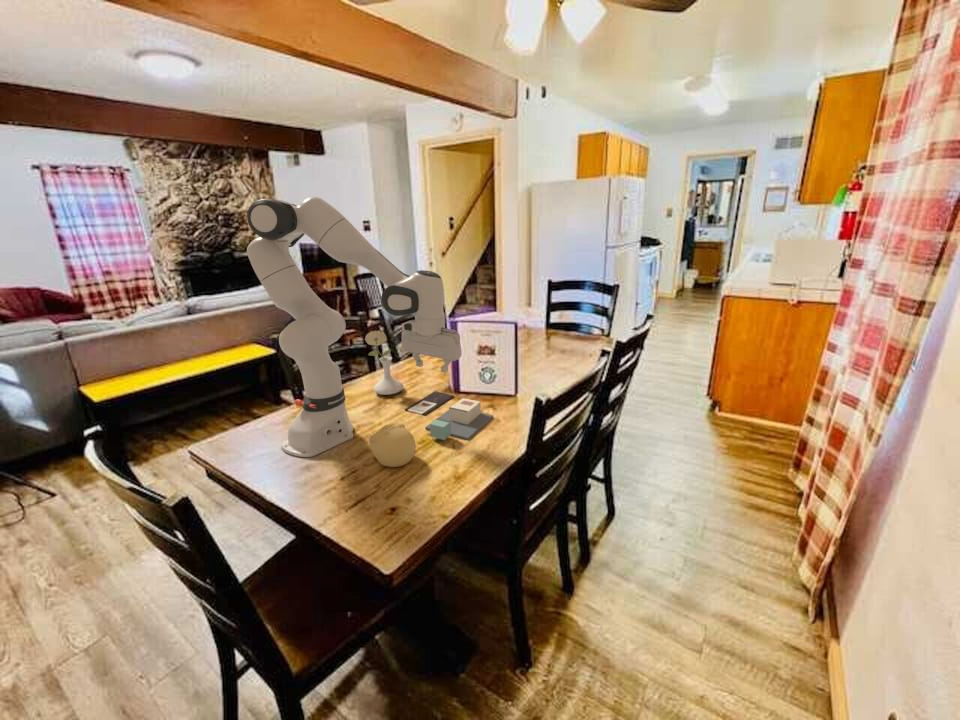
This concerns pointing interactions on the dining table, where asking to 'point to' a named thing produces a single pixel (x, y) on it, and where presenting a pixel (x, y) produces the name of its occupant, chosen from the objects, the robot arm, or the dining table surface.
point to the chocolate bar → (429, 403)
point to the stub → (440, 429)
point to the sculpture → (393, 445)
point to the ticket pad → (465, 428)
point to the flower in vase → (388, 382)
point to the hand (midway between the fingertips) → (431, 368)
